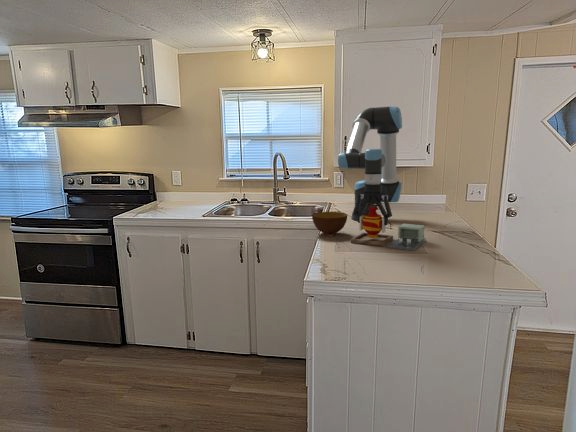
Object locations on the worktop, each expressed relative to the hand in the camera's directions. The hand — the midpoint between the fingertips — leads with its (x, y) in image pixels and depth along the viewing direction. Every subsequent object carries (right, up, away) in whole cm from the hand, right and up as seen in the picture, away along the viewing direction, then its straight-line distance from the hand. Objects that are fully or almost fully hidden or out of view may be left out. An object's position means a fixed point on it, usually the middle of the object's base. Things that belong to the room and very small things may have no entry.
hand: (372, 230), depth 188 cm
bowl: (-18, -3, +17) cm, 25 cm away
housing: (+17, -4, -2) cm, 18 cm away
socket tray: (0, -5, +1) cm, 5 cm away
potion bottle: (0, -3, +1) cm, 3 cm away
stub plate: (+15, -6, -6) cm, 17 cm away
